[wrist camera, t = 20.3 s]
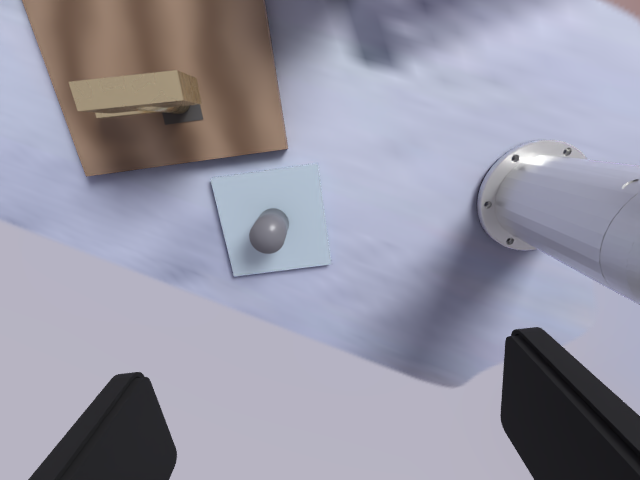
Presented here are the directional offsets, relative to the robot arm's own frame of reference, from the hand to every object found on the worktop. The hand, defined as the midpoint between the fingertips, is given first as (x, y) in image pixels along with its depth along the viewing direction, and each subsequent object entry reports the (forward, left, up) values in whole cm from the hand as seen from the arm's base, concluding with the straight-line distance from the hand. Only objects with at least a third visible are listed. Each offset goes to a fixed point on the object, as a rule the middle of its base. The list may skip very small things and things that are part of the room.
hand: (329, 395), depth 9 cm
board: (+14, -17, -30) cm, 37 cm away
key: (+15, -11, -28) cm, 34 cm away
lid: (+6, +3, -31) cm, 32 cm away
